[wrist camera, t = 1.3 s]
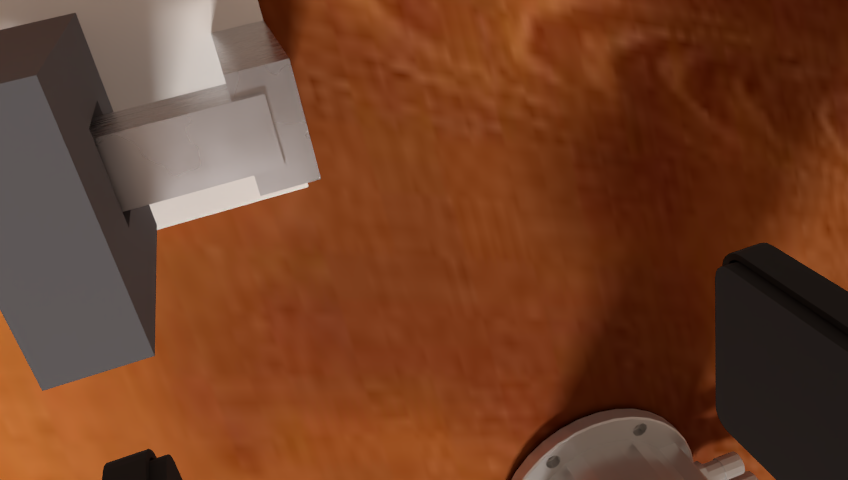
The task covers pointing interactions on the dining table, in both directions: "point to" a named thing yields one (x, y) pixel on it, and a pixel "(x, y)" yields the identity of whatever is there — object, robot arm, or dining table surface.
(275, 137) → the white frame stand
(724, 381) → the robot arm
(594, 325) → the dining table surface
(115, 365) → the collar
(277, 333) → the dining table surface
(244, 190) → the base board
